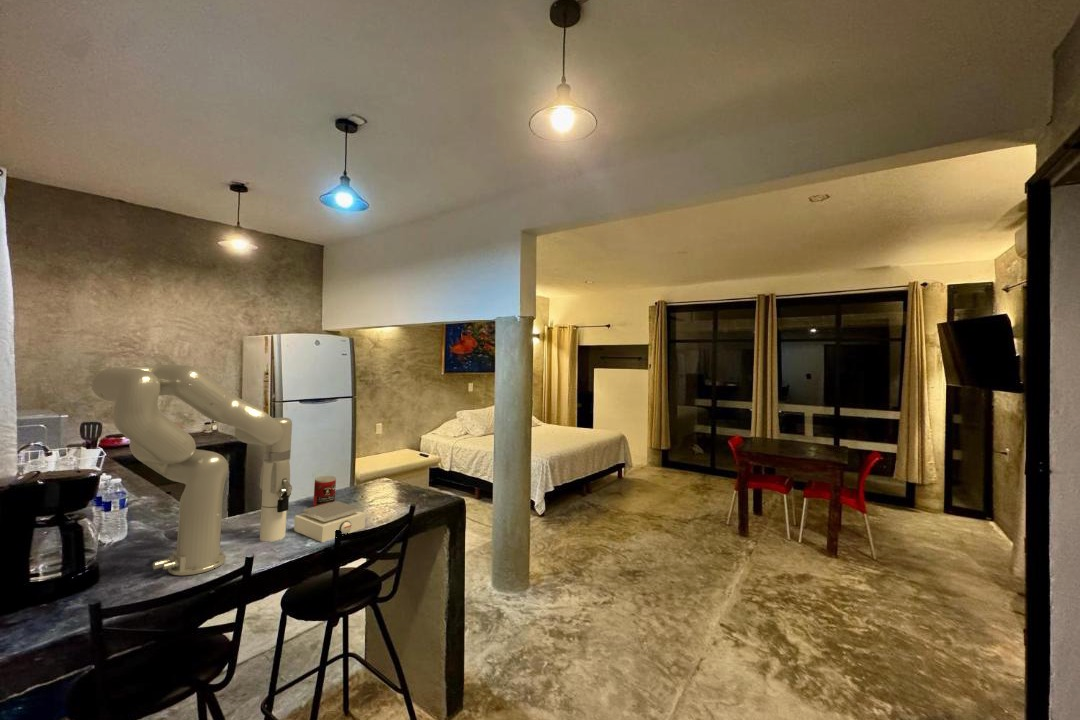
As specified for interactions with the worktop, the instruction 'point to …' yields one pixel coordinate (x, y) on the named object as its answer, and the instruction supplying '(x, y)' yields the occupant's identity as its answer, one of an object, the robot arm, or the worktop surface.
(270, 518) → the cylindrical container
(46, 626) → the worktop surface
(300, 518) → the scale base
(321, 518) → the scale pan
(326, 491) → the canned food
